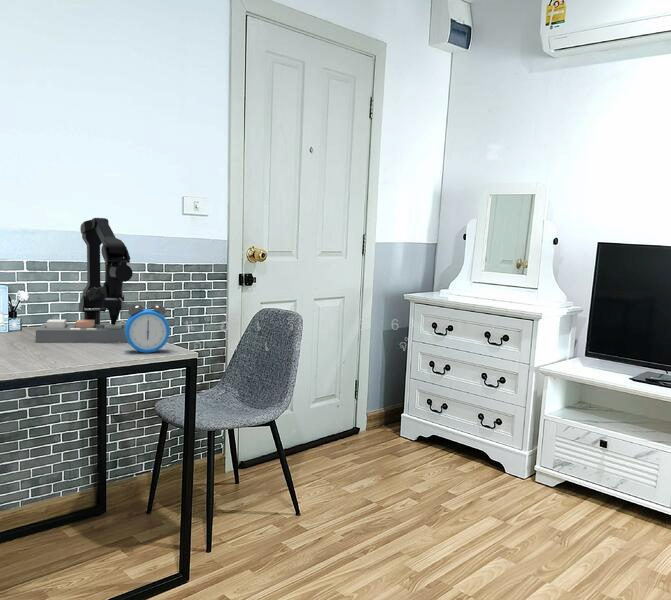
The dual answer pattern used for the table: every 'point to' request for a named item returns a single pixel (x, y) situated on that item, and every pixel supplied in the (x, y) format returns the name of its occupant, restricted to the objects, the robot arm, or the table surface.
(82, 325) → the terracotta key
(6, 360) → the table surface
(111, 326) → the sage key
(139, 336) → the alarm clock
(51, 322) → the cream key
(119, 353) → the table surface
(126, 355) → the table surface
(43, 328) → the console
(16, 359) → the table surface
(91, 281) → the robot arm
